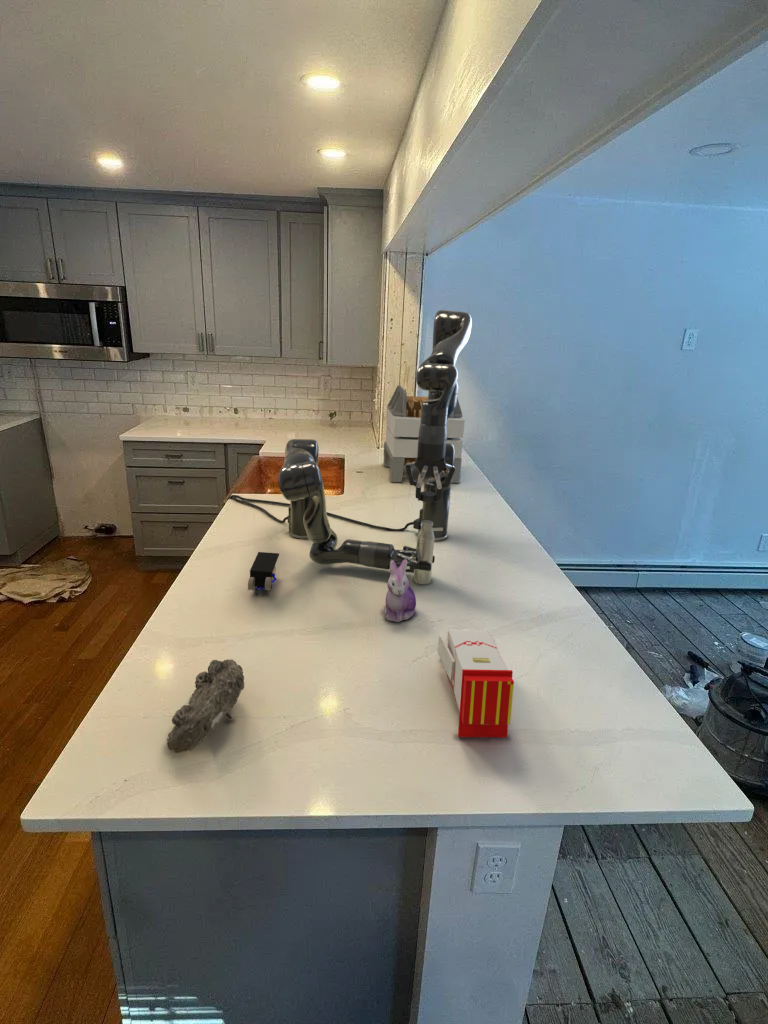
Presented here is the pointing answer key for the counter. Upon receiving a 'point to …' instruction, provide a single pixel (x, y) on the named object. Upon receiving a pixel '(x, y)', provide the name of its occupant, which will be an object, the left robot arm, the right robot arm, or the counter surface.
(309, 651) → the counter surface
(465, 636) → the toy
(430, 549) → the bottle
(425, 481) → the right robot arm
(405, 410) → the grey wooden crate
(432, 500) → the cap
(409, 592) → the figurine
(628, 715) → the counter surface
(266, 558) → the black toy truck
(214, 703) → the fossil
